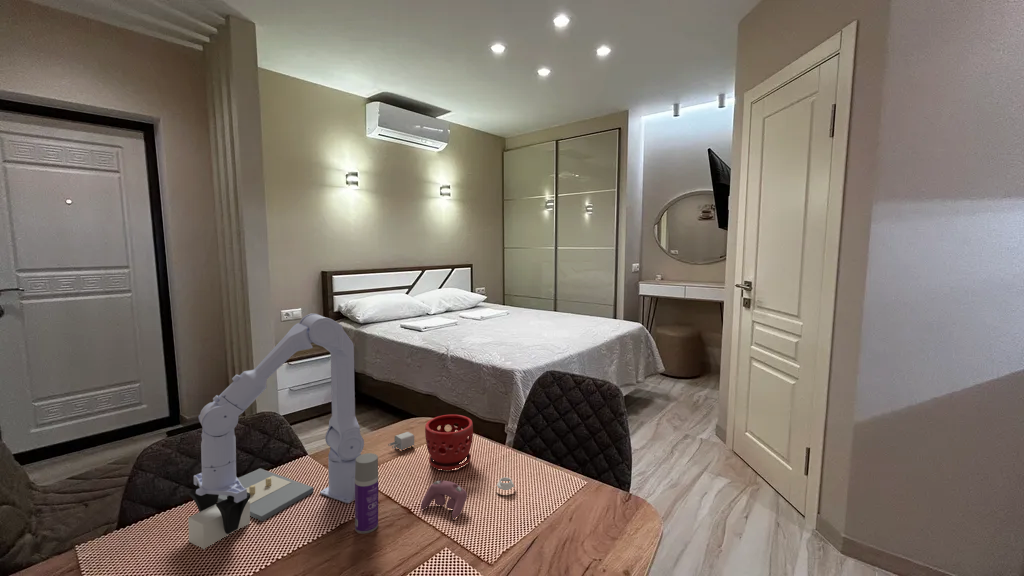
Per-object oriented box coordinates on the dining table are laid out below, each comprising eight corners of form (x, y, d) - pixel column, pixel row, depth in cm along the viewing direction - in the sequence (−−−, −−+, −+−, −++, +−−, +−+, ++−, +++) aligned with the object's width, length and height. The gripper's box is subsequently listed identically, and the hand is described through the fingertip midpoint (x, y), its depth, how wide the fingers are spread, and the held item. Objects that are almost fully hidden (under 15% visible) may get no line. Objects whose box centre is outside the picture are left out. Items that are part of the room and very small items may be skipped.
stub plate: (313, 492, 101) (313, 480, 101) (261, 521, 89) (261, 508, 89) (260, 472, 110) (259, 461, 109) (206, 497, 98) (205, 485, 98)
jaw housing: (250, 523, 89) (249, 500, 88) (203, 549, 81) (203, 524, 80) (235, 517, 91) (235, 494, 90) (189, 541, 83) (188, 517, 82)
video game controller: (464, 520, 94) (471, 486, 97) (454, 521, 90) (462, 486, 93) (428, 508, 98) (436, 476, 101) (417, 509, 94) (426, 476, 97)
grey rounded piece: (514, 498, 101) (516, 487, 106) (514, 486, 101) (516, 476, 106) (493, 496, 101) (496, 485, 106) (494, 485, 101) (496, 474, 106)
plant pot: (433, 451, 124) (434, 412, 123) (476, 455, 122) (477, 415, 121) (417, 473, 111) (418, 429, 110) (465, 478, 109) (466, 433, 109)
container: (370, 535, 86) (371, 464, 85) (350, 531, 87) (350, 461, 86) (382, 521, 90) (382, 454, 90) (362, 518, 91) (362, 451, 90)
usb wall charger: (414, 447, 126) (414, 434, 126) (393, 455, 121) (393, 441, 121) (406, 443, 129) (407, 431, 129) (386, 450, 124) (386, 437, 124)
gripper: (176, 461, 84) (177, 526, 85) (219, 478, 78) (221, 548, 79) (213, 447, 91) (215, 508, 91) (256, 462, 84) (257, 527, 85)
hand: (220, 525), depth 86 cm, fingers open, 7 cm apart
